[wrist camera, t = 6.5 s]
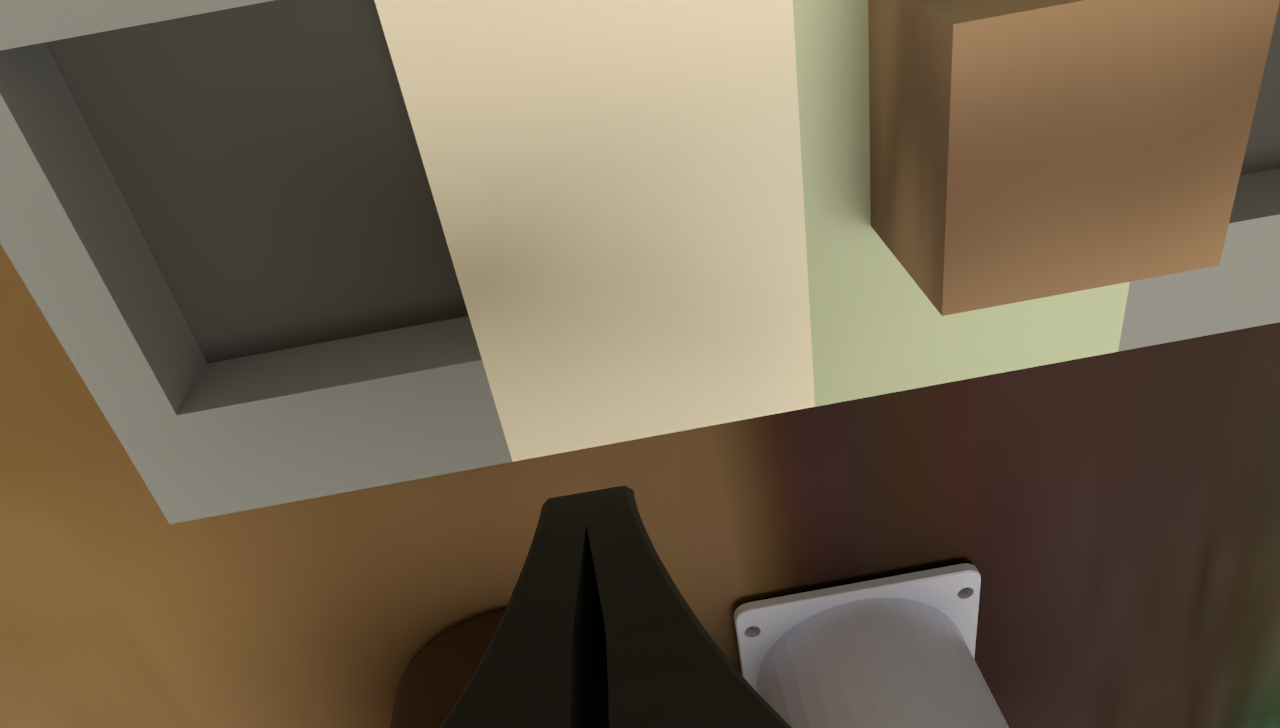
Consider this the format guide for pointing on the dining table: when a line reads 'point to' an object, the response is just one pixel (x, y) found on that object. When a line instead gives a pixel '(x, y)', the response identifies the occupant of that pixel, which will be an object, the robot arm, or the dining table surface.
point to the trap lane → (495, 232)
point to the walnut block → (1058, 139)
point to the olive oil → (442, 673)
